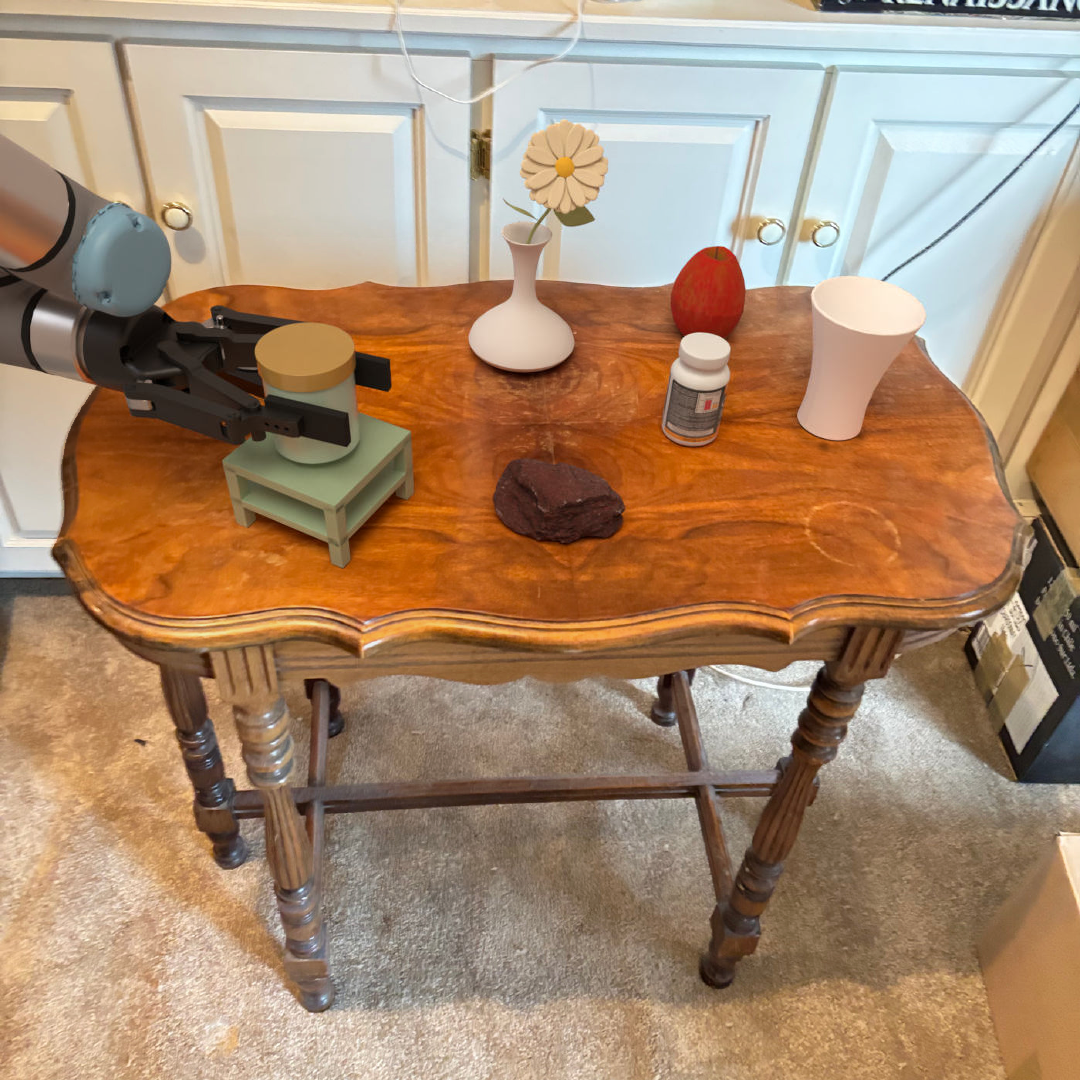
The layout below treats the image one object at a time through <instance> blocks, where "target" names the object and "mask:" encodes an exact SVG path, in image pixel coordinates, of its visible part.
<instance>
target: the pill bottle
mask: <svg viewBox="0 0 1080 1080" xmlns="http://www.w3.org/2000/svg"><path fill="white" fill-rule="evenodd" d="M731 351H732V349H731V345H730V343H729V342H728V341H727V340H726V339H725V338H724V339H723V338H721V337H719V336H717V335H714V334H710V333H692V334H689V335H687V336H684V337H682V338H681V340H680V343H679V347H678V353H677V354H678V357H677V358H676V359H675V360H674V361H673V363H672V364H671V366H670V370H669V376H668V383H667V389H666V394H665V399H664V404H663V405H664V406H663V411H662V418H661V429H662V431H663V434H664V435H665V436H666V437H667V438H668V439H669V440H671V441H672V442H674V443H676V444H677V445H678V444H679V445H682V446H685V447H702V446H706V445H708V444H710V443H712V442H713V441H714V440H715V439H716V438H717V436H718V433H719V430H720V426H721V421H722V417H723V412H724V407H725V402H726V399H727V393H728V388H729V384H730V380H731V370H730V368H729V366H728V363H729V360H730V357H731Z"/></svg>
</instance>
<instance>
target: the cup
mask: <svg viewBox="0 0 1080 1080" xmlns="http://www.w3.org/2000/svg"><path fill="white" fill-rule="evenodd" d="M810 298H811V299H810V300H811V318H812V319H811V320H812V345H813V346H812V357H811V368H810V375H809V379H808V383H807V386H806V391H805V394H804V396H803V399H802V402H801V404H800V405H799V408H798V410H797V413H796V416H797V417H796V418H797V421H798V423H799V424H800V425H801V427H802V428H803V429H805V430H806V431H807V432H809V433H811V434H813V435H814V436H816V437H819V438H823V439H826V440H831V441H846V440H850V439H853V438H855V437H857V436H858V435H859V434H860V433H861V431H862V427H863V423H864V419H865V415H866V411H867V407H868V405H869V403H870V400H871V399H872V397H873V394H874V392H875V391H876V388H877V387H878V385H879V384H880V381H881V380H882V379H883V377H884V376H885V374H886V372H887V370H888V369H889V368H890V366H891V365H892V364H893V363H894V361H895V360H896V359H897V357H898V356H899V355H900V353H901V352H902V351H903V350H904V349H905V347H906V346H907V345H908V343H909V342H911V340H912V339H913V337H914V336H916V334H917V333H918V332H919V330H921V328H922V327H923V325H924V324H925V323H926V319H927V313H926V309H925V307H924V305H923V304H922V303H921V301H920V300H919V299H917V297H916V296H915V295H913V294H912V293H910V292H909V291H907V290H906V289H904V288H901V287H900V286H898V285H895V284H892V283H890V282H887V281H886V280H885V281H884V280H880V279H876V278H873V277H866V276H858V275H842V276H834V277H830V278H827V279H824V280H822V281H820V282H819V283H817V284H816V285H815V286H814V287H813V288H812V291H811V293H810Z"/></svg>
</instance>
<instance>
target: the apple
mask: <svg viewBox="0 0 1080 1080" xmlns="http://www.w3.org/2000/svg"><path fill="white" fill-rule="evenodd" d="M741 267H742V266H741V264H740V263H739V260H738V258H737V256H736V255H735V253H733V252H732V251H731V249H730V248H728V247H726V246H722V245H715V246H707V247H703V248H702V249H700V250H698V251H697V252H696V253H695V254H693V255H692V256H691V258H689V260H687V262H685V264H684V266H683V267H682V268H681V270H680V271H679V273H678V274H677V276H676V278H675V280H674V283H673V287H672V290H671V293H670V309H671V316H672V319H673V321H674V324H675V326H676V328H677V330H679V332H680V333H681V334H682V335H683V336H684V337H685V336H687V335H689V334H692V333H710V334H714V335H717V336H719V337H721V338H723V339H724V340H725V338H727V337H728V336H729V335H730V334H731V333H732V332H733V331H734V330H735V328H736V327H737V326H738V324H739V322H740V320H741V319H742V316H743V314H744V310H745V302H746V295H747V294H746V293H747V288H746V283H745V281H746V280H745V277H744V274H743V270H742V268H741Z"/></svg>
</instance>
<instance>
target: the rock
mask: <svg viewBox="0 0 1080 1080" xmlns="http://www.w3.org/2000/svg"><path fill="white" fill-rule="evenodd" d="M492 503H493V506H494V510H495V512H496V515H497V517H498V518H499V519H500V520H501V521H502V522H503V523H504V525H506V526H507V527H509V528H510V530H512V531H514V532H516V533H518V534H520V535H523V536H529V537H532V538H533V539H536V540H538V541H545V540H551V541H559V542H561V543H564V544H565V543H566V544H570V543H572V542H573V541H576V540H579V539H580V538H583V537H588V536H589V537H598V538H603V539H604V538H609V537H610V536H612V535H613V534H614V533H615V532H617V531H618V530H619V529H620V527H622V525H623V524H624V517H623V513H625V511H626V504H625V503H624V500H623V498H622V496H620V494H619V493H618V492H616V491H615V490H614V489H613V488H612V486H610V484H609V482H608V481H607V480H606V479H604V478H603V477H601V476H599V475H597V474H595V473H593V472H591V471H589V470H588V469H585V468H581V467H578V466H576V465H573V464H569V463H566V462H558V463H555V464H553V463H548V462H545V461H542V460H540V459H537V458H536V459H535V458H528V457H527V458H526V457H523V458H522V457H521V458H515V459H512V460H511V461H510V462H508V463H507V465H506V466H505V468H504V470H503V471H502V473H501V475H500V477H499V478H498V480H497V483H496V485H495V490H494V493H493V495H492Z"/></svg>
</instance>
